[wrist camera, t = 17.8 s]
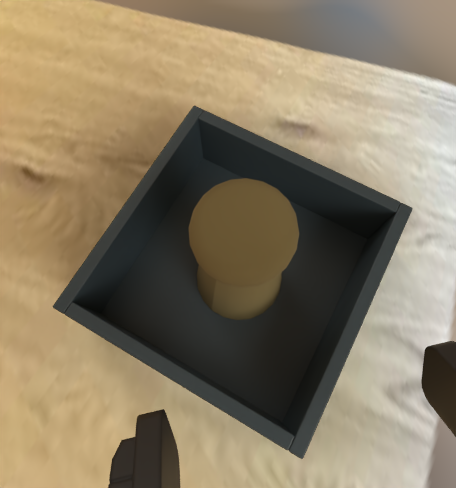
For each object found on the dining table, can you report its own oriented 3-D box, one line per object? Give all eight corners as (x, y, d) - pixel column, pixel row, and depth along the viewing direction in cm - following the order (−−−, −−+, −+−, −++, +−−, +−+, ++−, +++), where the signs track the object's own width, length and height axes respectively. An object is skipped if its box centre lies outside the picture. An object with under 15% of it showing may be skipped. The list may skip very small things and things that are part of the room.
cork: (250, 222, 28) (263, 135, 17) (298, 289, 26) (343, 238, 16) (180, 264, 27) (149, 199, 16) (226, 337, 25) (223, 316, 15)
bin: (379, 237, 28) (413, 207, 23) (286, 439, 24) (302, 460, 19) (200, 150, 30) (193, 104, 25) (87, 319, 26) (51, 306, 21)
